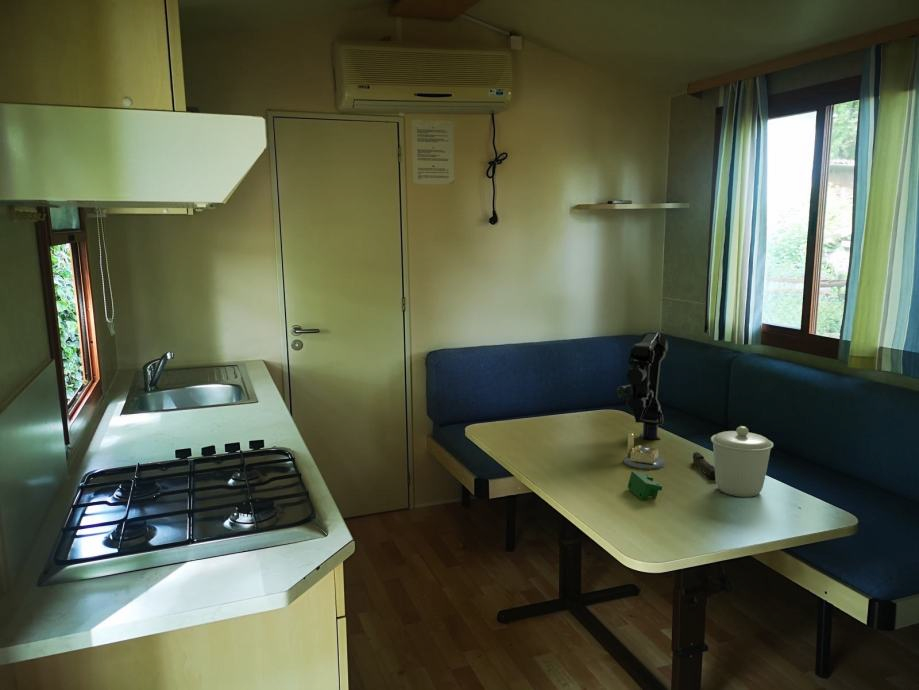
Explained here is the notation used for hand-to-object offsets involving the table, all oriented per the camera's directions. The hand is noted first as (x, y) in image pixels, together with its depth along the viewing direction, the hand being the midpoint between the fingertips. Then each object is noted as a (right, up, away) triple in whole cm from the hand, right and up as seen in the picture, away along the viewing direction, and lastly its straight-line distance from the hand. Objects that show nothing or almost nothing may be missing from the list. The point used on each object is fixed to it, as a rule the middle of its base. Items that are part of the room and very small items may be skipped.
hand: (639, 420), depth 260 cm
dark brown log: (+16, -16, -20) cm, 30 cm away
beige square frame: (-2, -12, -11) cm, 17 cm away
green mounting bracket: (-9, -19, -41) cm, 46 cm away
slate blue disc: (-1, -14, -12) cm, 18 cm away
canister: (+21, -18, -39) cm, 48 cm away
